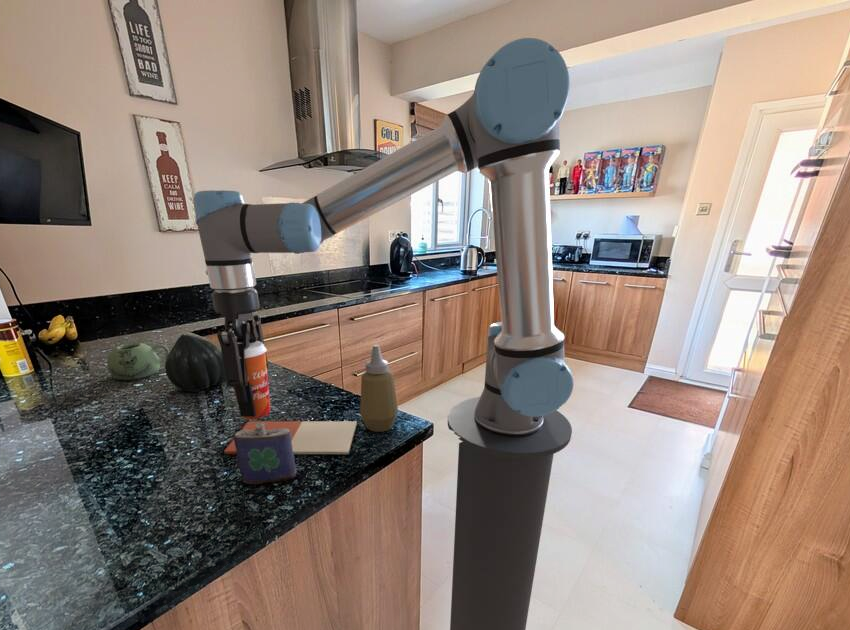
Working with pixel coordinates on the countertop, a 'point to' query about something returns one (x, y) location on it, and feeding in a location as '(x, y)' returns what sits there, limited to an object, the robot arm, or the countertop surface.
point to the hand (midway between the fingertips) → (255, 407)
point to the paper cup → (257, 378)
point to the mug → (134, 361)
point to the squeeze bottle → (378, 394)
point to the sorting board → (311, 435)
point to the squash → (195, 364)
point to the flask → (265, 454)
